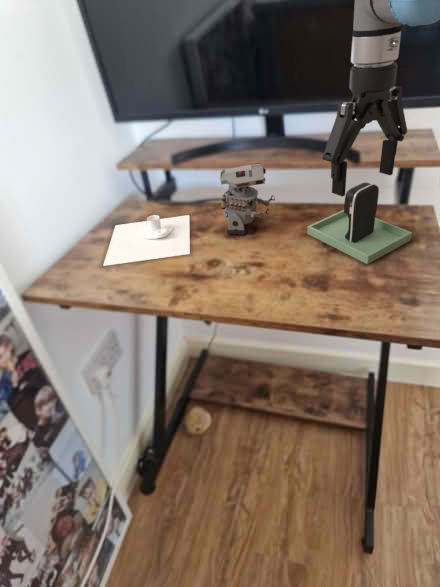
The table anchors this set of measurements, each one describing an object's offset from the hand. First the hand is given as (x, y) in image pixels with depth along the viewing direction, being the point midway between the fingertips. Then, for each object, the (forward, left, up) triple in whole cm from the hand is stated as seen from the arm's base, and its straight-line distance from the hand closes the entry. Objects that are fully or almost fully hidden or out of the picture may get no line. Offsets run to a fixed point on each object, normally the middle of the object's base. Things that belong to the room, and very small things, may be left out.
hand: (362, 183), depth 81 cm
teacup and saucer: (+34, +35, -13) cm, 50 cm away
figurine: (+21, +14, -13) cm, 28 cm away
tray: (0, 0, -12) cm, 12 cm away
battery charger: (0, 0, -12) cm, 12 cm away
